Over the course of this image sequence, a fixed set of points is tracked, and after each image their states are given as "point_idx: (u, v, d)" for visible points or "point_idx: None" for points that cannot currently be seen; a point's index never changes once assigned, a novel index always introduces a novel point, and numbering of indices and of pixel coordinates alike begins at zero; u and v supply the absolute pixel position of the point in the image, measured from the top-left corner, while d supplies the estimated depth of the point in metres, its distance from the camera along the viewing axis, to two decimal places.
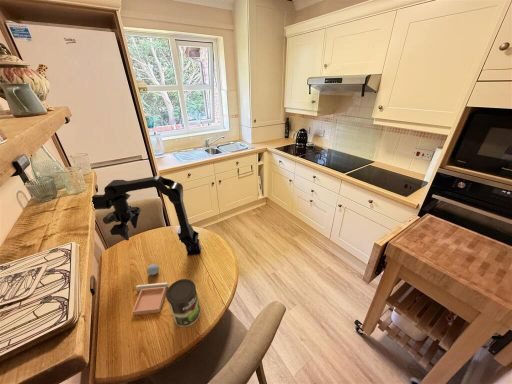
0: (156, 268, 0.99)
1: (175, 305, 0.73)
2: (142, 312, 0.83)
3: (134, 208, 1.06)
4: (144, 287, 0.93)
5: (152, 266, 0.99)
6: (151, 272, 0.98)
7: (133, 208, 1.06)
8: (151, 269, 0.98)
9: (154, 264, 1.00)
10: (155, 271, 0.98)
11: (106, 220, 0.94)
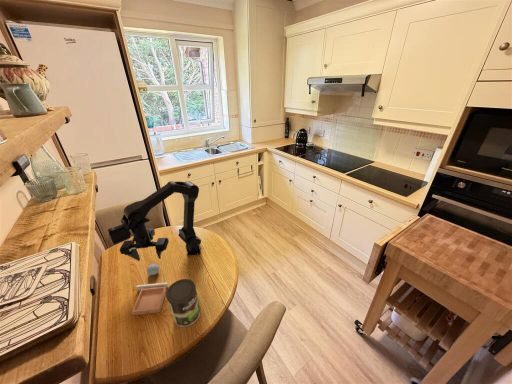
0: (156, 268, 0.99)
1: (175, 305, 0.73)
2: (142, 312, 0.83)
3: (160, 243, 0.92)
4: (144, 287, 0.93)
5: (152, 266, 0.99)
6: (151, 272, 0.98)
7: (160, 242, 0.92)
8: (151, 269, 0.98)
9: (154, 264, 1.00)
10: (155, 271, 0.98)
11: None
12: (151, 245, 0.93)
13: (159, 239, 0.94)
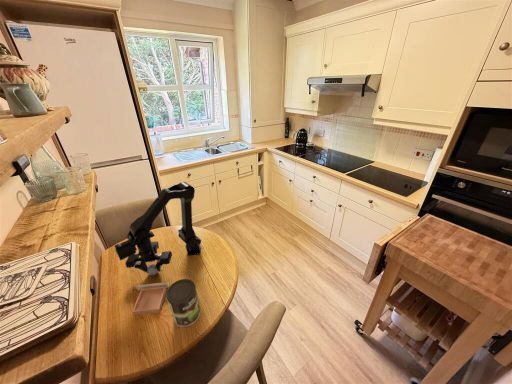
0: (156, 268, 0.99)
1: (175, 305, 0.73)
2: (142, 312, 0.83)
3: (164, 257, 0.95)
4: (144, 287, 0.93)
5: (152, 266, 0.99)
6: (151, 272, 0.98)
7: (164, 256, 0.96)
8: (151, 269, 0.98)
9: (154, 264, 1.00)
10: (155, 271, 0.98)
11: None
12: (155, 259, 0.96)
13: (163, 253, 0.97)
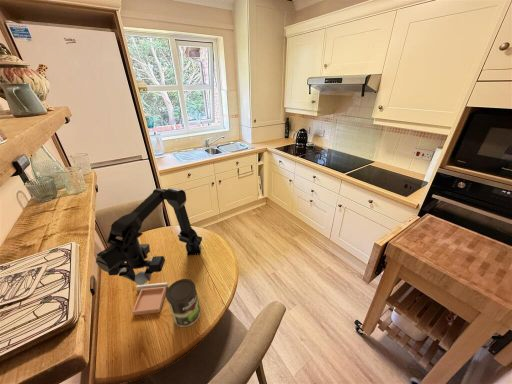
0: (145, 276, 0.82)
1: (175, 305, 0.73)
2: (142, 312, 0.83)
3: (155, 263, 0.79)
4: (144, 287, 0.93)
5: (141, 274, 0.82)
6: (139, 281, 0.81)
7: (155, 262, 0.79)
8: (139, 277, 0.81)
9: (143, 271, 0.83)
10: (144, 280, 0.82)
11: None
12: (144, 265, 0.80)
13: (154, 258, 0.81)
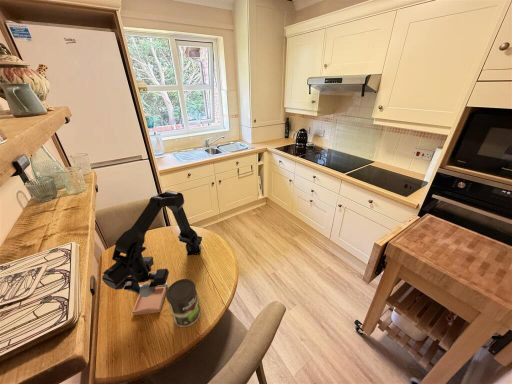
0: (150, 289, 0.84)
1: (175, 305, 0.73)
2: (142, 312, 0.83)
3: (159, 276, 0.80)
4: None
5: (145, 286, 0.84)
6: (144, 294, 0.83)
7: (159, 275, 0.81)
8: (144, 290, 0.83)
9: (148, 284, 0.85)
10: (149, 292, 0.83)
11: None
12: (149, 278, 0.81)
13: (158, 271, 0.82)
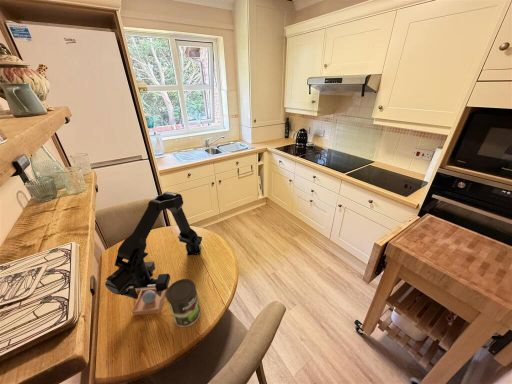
0: (152, 296, 0.86)
1: (175, 305, 0.73)
2: (142, 312, 0.83)
3: (161, 281, 0.82)
4: None
5: (148, 293, 0.86)
6: (147, 301, 0.85)
7: (161, 280, 0.82)
8: (147, 297, 0.85)
9: (150, 291, 0.87)
10: (151, 299, 0.85)
11: None
12: (151, 283, 0.83)
13: (160, 276, 0.84)
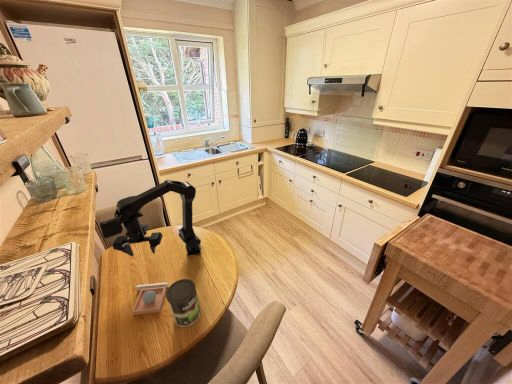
0: (153, 296, 0.86)
1: (175, 305, 0.73)
2: (142, 312, 0.83)
3: (154, 237, 0.91)
4: (144, 287, 0.93)
5: (148, 293, 0.86)
6: (147, 301, 0.85)
7: (154, 237, 0.91)
8: (147, 297, 0.85)
9: (151, 291, 0.87)
10: (151, 299, 0.85)
11: None
12: (145, 240, 0.92)
13: (153, 234, 0.93)
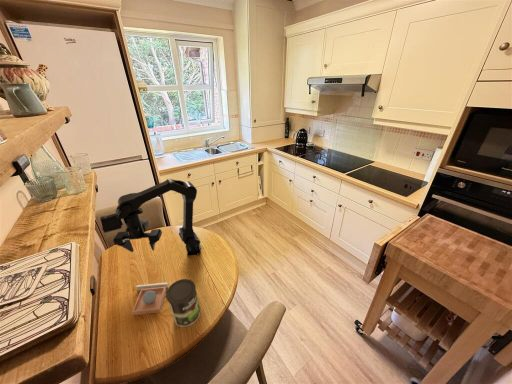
0: (153, 296, 0.86)
1: (175, 305, 0.73)
2: (142, 312, 0.83)
3: (153, 234, 0.92)
4: (144, 287, 0.93)
5: (148, 293, 0.86)
6: (147, 301, 0.85)
7: (153, 233, 0.93)
8: (147, 297, 0.85)
9: (151, 291, 0.87)
10: (152, 299, 0.85)
11: None
12: (144, 236, 0.93)
13: (152, 230, 0.94)
